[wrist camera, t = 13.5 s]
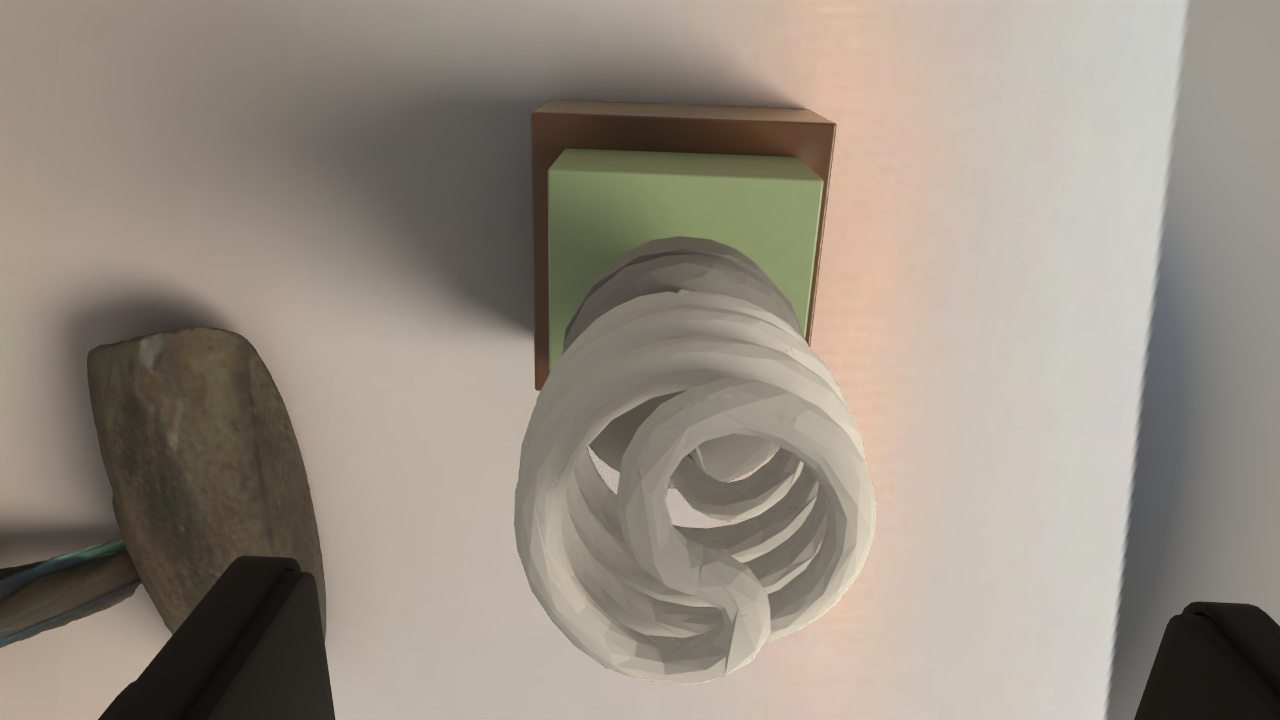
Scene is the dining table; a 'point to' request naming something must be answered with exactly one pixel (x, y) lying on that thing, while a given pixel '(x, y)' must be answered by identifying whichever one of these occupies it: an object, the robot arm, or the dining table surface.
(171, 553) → the decorative stone
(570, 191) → the top block
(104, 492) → the dining table surface
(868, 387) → the dining table surface
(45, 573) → the bird figurine
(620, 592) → the light bulb
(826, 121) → the base block
